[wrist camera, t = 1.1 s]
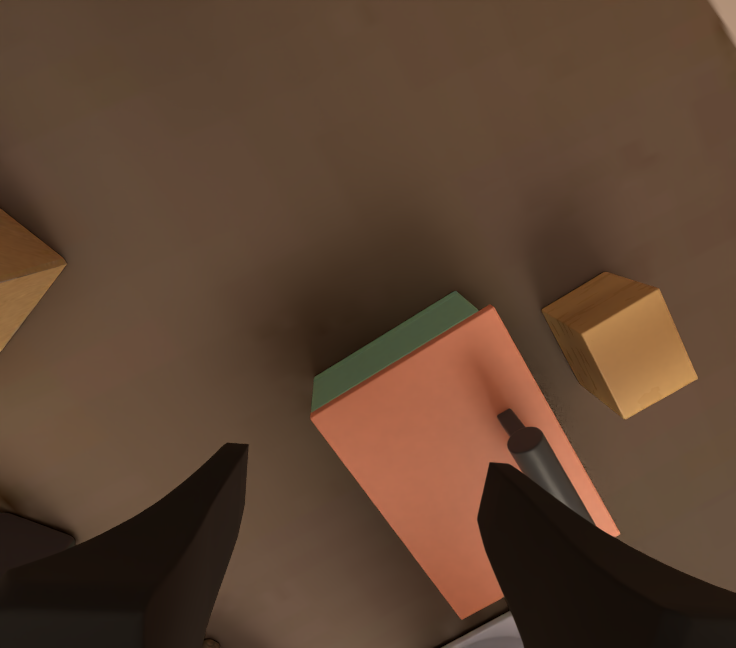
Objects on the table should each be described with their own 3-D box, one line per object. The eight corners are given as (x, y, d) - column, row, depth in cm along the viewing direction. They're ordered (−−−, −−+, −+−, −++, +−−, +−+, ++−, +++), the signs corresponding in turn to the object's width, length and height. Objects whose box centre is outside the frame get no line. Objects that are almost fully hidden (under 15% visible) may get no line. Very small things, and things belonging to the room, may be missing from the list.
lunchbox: (455, 289, 23) (478, 309, 19) (567, 483, 26) (605, 531, 23) (313, 376, 23) (309, 412, 20) (441, 553, 27) (458, 610, 23)
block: (641, 348, 24) (699, 378, 20) (579, 383, 25) (624, 420, 21) (605, 270, 23) (659, 287, 19) (540, 309, 23) (580, 334, 19)
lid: (490, 303, 19) (526, 330, 15) (615, 527, 23) (667, 590, 19) (309, 412, 20) (304, 462, 16) (458, 611, 23) (481, 687, 20)
